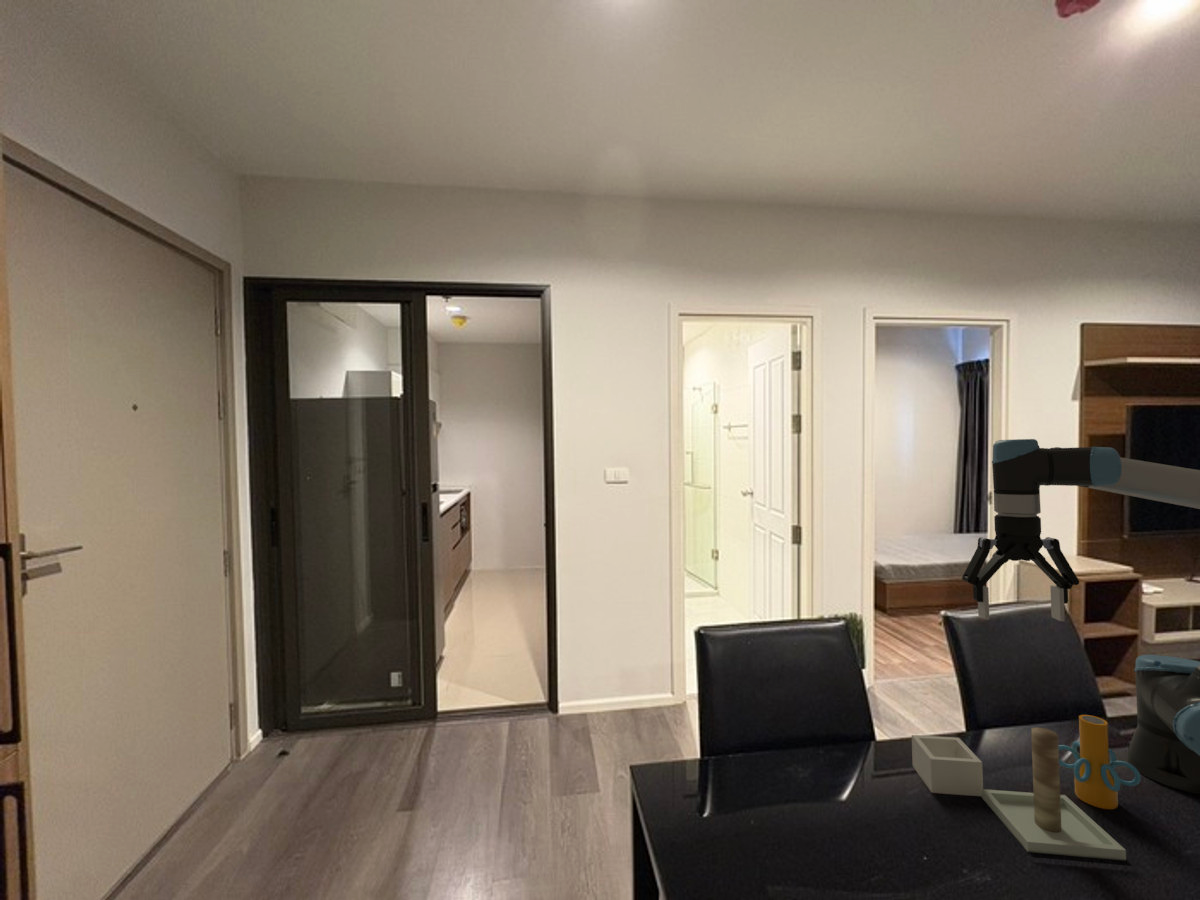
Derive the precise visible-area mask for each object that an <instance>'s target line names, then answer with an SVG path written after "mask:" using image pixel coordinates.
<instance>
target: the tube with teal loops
mask: <svg viewBox="0 0 1200 900" xmlns="http://www.w3.org/2000/svg"><path fill="white" fill-rule="evenodd" d="M1078 723H1079V724H1078V728H1079V730H1078V731H1079V740H1078V741H1077V740H1075V741H1074V742H1073V743H1072V745H1071V746H1069V745H1067V744H1058V747H1059V751H1062V750H1065V751H1069V752H1070V753H1071V754H1072V755H1073V757H1074V759H1075V762H1073V763H1071V764H1070V763H1066V762H1064V760H1062V759H1060V758H1059V766H1062V767H1064V768H1066V769H1070V770H1073V776H1074V777H1073V781H1074V793H1075V796H1076V797H1077V798H1078V799H1079V800H1080V801H1082V802H1083V803H1086V804H1087V805H1090V806H1092V807H1095V808H1098V809H1101V810H1102V809H1103V810H1115V809H1117V808H1118V806H1119V796H1118V794H1119V793H1118V791H1119V790H1121V785H1124V786H1127V787H1135V786H1138V785H1139V784H1140V782H1141V780H1142V779H1141V773H1140V772H1138V770H1137V769H1136V768H1135V767H1134V766H1132V765H1131V764H1129V763H1128V761H1124V760H1117V755H1116V753H1115V752H1114V751H1113V749H1111V748H1109V747H1110V746H1109V745H1110V744H1109V723H1108V721H1107V720H1105V719H1103V718H1101V717H1099V716H1095V715H1091V714H1090V715H1089V714H1080V715H1078ZM1078 747H1079V752H1078ZM1118 766H1122V767H1126V768H1128V769H1129V770H1131V771H1132V772H1133V775H1134V778H1133V779H1131V780H1130V781H1129V780H1124V779H1122V778H1120V777H1119V775H1118V772H1117V770H1116V767H1118Z"/></svg>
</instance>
